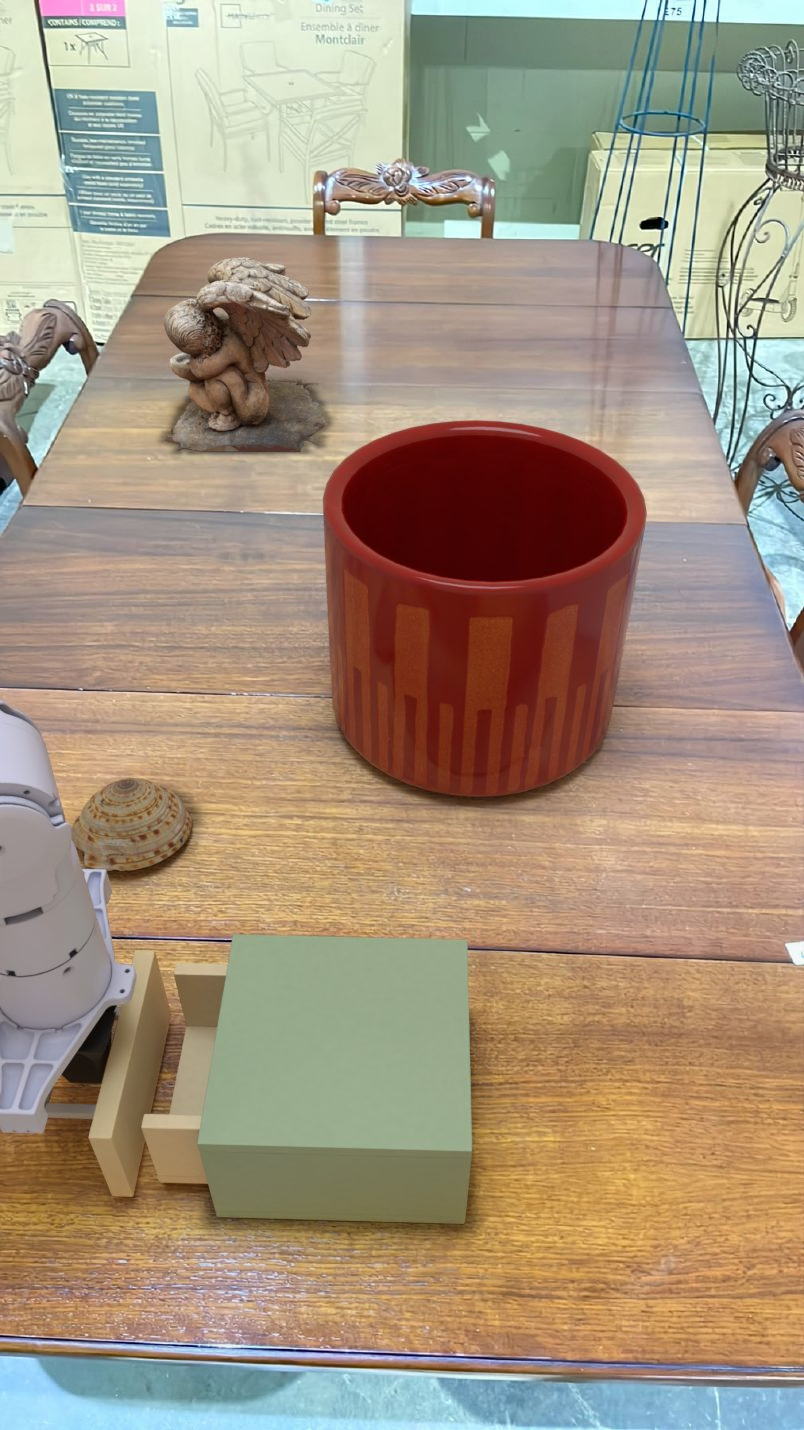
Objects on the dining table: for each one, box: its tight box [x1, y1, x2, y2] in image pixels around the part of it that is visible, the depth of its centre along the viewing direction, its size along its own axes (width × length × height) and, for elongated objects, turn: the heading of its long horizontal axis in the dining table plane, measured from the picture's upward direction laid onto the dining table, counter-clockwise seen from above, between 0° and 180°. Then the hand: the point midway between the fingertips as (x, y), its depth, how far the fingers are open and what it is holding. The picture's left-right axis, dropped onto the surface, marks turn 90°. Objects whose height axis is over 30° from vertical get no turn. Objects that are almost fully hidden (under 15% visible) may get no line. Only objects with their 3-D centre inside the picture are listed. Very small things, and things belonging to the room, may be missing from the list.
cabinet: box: [197, 933, 473, 1225], centre depth 61 cm, size 14×13×9 cm
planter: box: [322, 419, 648, 798], centre depth 83 cm, size 23×23×20 cm
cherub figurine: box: [163, 257, 326, 452], centre depth 122 cm, size 18×18×18 cm
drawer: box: [44, 949, 228, 1198], centre depth 61 cm, size 18×11×7 cm, turn 89°
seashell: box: [71, 777, 193, 872], centre depth 78 cm, size 8×6×8 cm
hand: (89, 1072), depth 61 cm, fingers closed, pressing on drawer
